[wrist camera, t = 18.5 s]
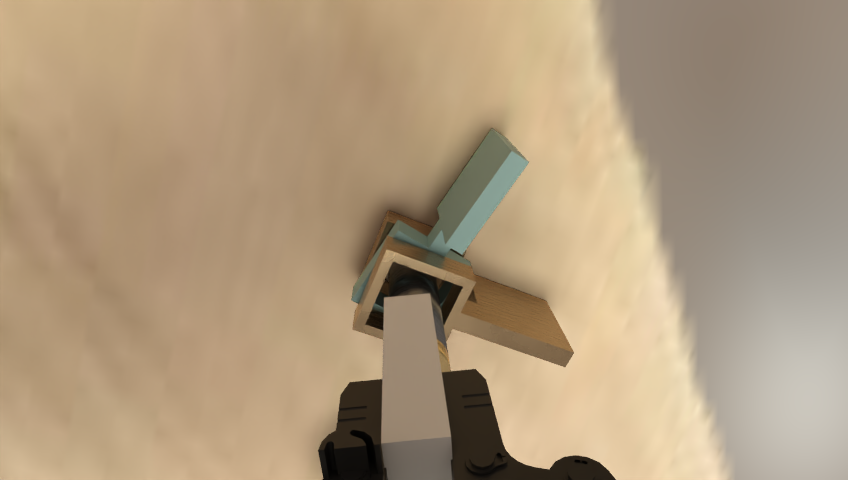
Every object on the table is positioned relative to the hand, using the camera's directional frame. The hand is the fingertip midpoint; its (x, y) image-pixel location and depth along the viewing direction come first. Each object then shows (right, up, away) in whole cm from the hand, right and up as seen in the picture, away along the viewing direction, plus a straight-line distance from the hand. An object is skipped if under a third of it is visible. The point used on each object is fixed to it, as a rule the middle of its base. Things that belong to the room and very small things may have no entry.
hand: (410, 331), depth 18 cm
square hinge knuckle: (+3, 0, +23) cm, 23 cm away
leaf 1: (+2, +5, +20) cm, 21 cm away
